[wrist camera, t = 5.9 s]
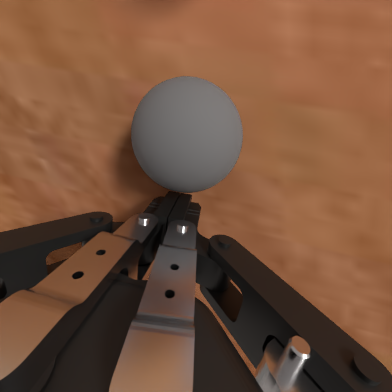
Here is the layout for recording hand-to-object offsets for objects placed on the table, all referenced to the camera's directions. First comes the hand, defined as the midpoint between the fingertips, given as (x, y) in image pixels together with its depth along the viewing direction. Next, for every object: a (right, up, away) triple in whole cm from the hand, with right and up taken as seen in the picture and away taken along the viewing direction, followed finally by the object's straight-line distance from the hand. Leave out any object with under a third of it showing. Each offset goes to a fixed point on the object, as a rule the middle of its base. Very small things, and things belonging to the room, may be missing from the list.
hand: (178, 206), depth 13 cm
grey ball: (+1, +4, -3) cm, 5 cm away
